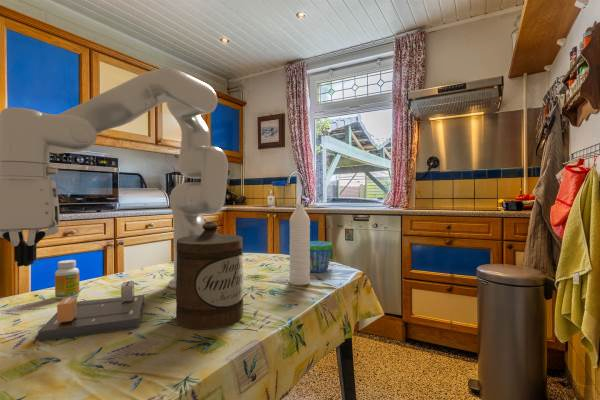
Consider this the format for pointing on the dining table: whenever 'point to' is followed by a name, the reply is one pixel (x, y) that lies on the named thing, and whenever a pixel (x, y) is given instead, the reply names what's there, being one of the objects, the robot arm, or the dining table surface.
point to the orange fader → (67, 310)
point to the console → (96, 318)
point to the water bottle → (300, 246)
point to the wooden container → (209, 279)
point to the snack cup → (320, 256)
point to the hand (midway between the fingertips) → (25, 264)
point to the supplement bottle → (66, 280)
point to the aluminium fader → (127, 291)
